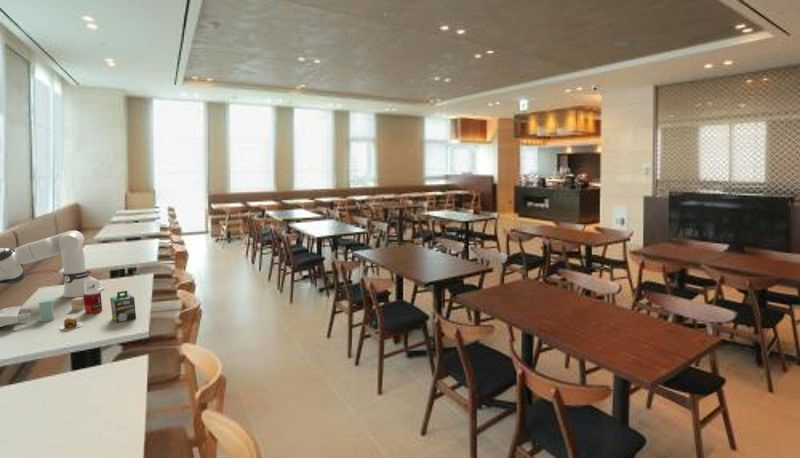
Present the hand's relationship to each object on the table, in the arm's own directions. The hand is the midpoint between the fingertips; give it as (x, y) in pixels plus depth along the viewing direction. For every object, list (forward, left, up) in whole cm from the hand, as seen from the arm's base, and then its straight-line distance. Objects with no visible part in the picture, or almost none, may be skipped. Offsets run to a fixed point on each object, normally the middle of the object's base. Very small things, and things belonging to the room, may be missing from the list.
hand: (31, 312), depth 229 cm
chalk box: (-13, +42, -5) cm, 44 cm away
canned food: (-20, +17, -5) cm, 26 cm away
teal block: (-5, +4, -5) cm, 8 cm away
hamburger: (+3, +26, -6) cm, 26 cm away
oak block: (-23, +5, -5) cm, 24 cm away
